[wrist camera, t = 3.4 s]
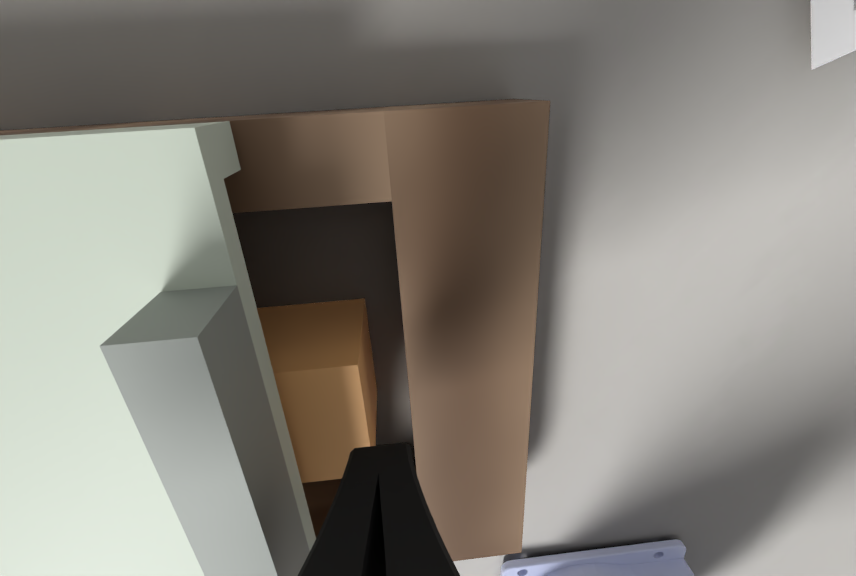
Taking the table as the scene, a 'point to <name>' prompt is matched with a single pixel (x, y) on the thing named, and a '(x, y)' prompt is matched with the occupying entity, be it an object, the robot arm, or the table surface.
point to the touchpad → (832, 30)
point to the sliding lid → (136, 365)
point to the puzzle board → (431, 277)
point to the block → (323, 381)
